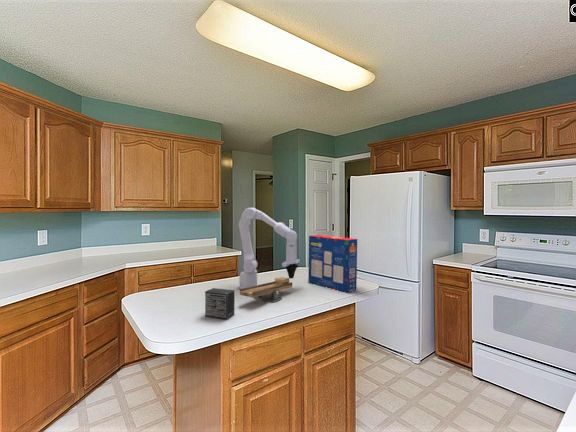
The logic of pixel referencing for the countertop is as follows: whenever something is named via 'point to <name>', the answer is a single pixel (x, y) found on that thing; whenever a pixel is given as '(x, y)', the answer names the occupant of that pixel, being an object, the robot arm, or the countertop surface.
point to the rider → (281, 280)
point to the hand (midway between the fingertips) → (291, 278)
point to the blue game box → (333, 262)
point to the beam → (263, 289)
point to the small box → (219, 303)
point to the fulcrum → (270, 297)
